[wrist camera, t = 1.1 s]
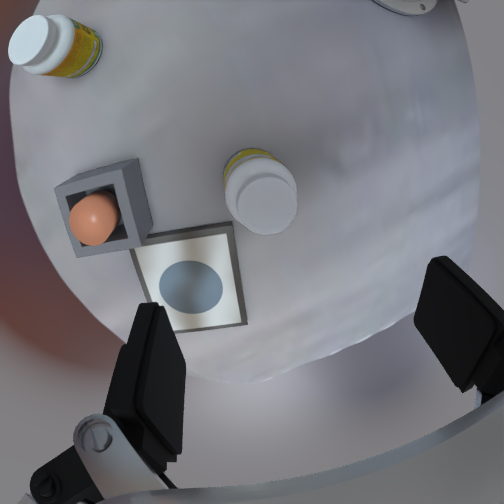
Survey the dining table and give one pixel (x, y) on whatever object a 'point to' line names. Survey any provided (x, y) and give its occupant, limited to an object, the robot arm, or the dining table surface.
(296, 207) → the supplement bottle
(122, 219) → the button housing
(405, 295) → the dining table surface
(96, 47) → the supplement bottle
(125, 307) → the dining table surface
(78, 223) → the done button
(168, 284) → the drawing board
